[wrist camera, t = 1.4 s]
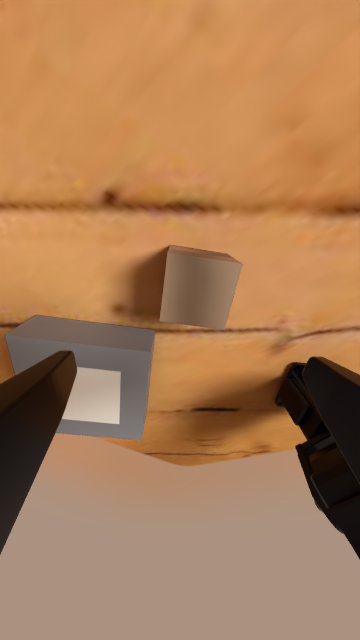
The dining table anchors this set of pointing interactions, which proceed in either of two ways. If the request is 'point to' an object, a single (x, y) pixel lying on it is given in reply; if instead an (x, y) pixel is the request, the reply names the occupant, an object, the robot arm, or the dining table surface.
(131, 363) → the plinth
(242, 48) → the dining table surface
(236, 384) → the dining table surface
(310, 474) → the robot arm
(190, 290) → the walnut cube
